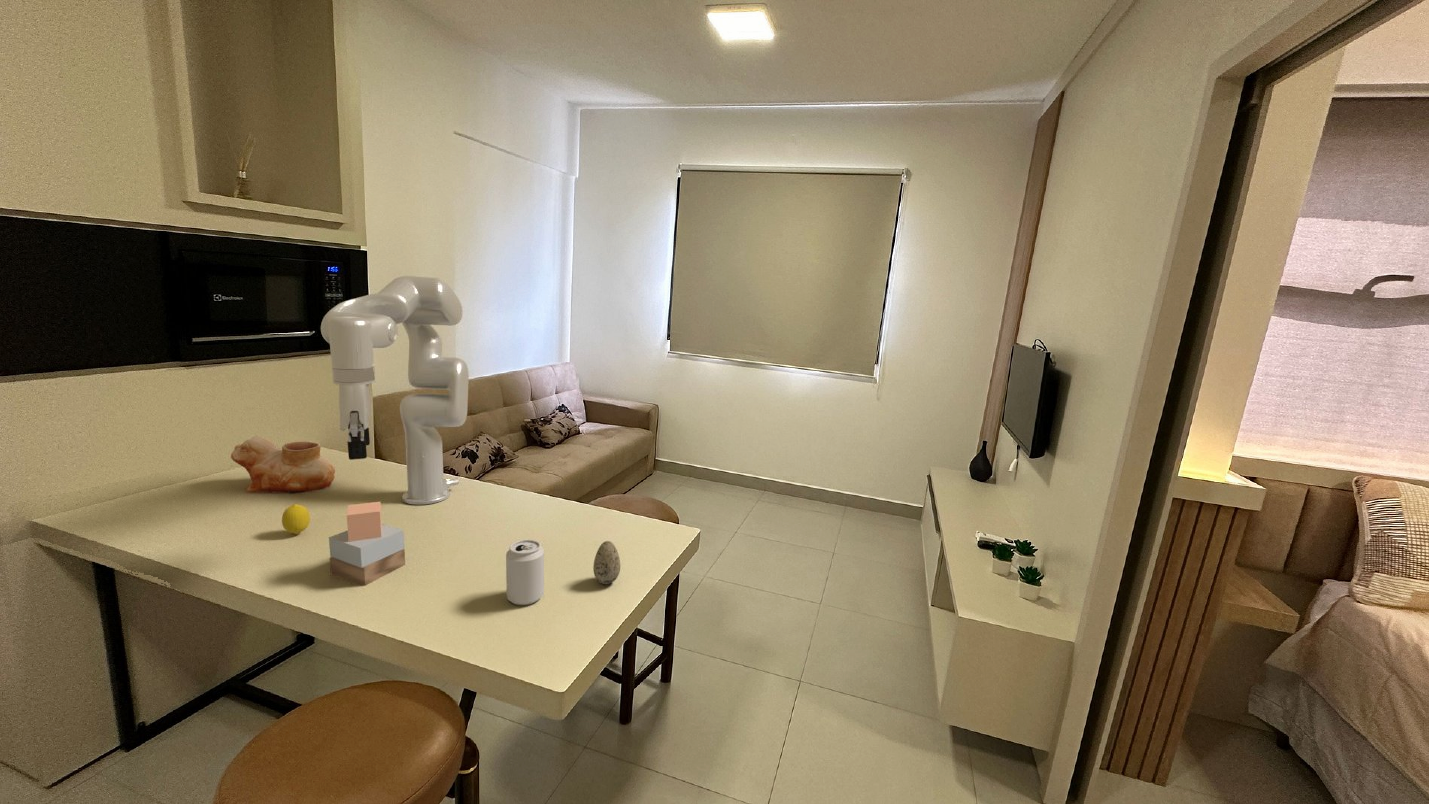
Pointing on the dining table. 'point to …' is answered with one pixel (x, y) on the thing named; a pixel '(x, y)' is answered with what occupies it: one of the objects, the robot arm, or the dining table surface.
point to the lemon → (295, 519)
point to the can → (525, 572)
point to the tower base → (367, 568)
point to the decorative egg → (606, 563)
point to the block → (364, 521)
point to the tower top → (366, 547)
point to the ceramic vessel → (284, 466)
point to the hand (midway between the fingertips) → (359, 451)
